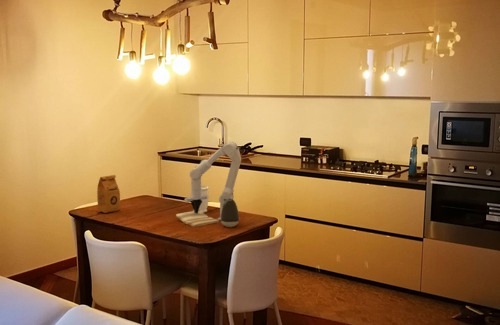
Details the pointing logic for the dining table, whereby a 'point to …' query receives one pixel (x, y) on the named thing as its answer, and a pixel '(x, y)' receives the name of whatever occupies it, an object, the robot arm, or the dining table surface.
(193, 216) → the cream folded cloth
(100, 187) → the coffee package
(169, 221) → the dining table surface
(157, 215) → the dining table surface
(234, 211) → the smart speaker
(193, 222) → the folded beige cloth
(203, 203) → the jar
